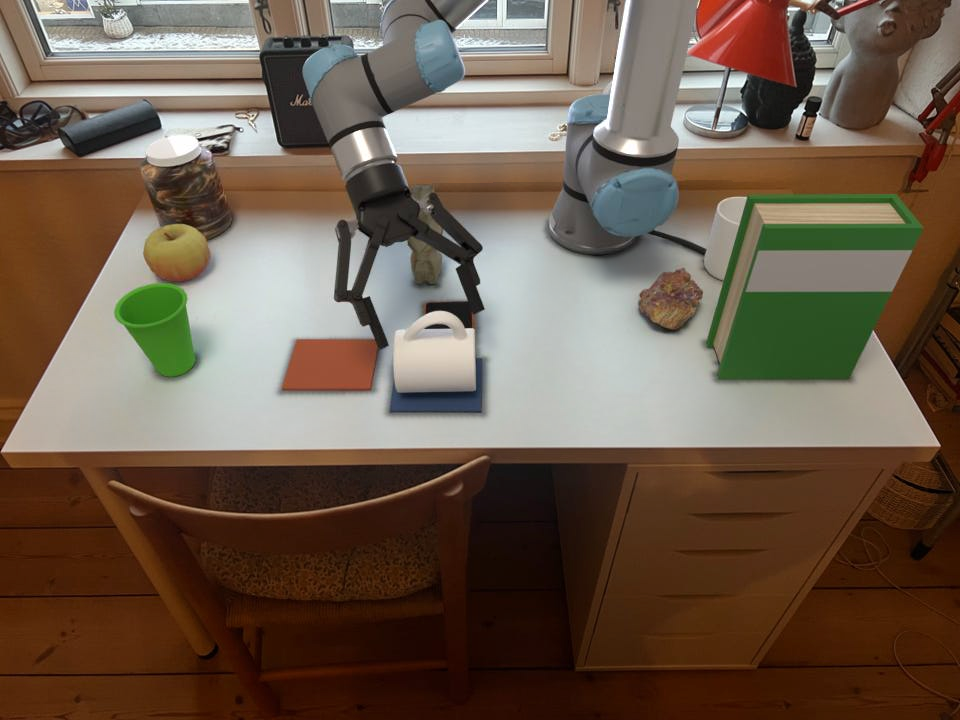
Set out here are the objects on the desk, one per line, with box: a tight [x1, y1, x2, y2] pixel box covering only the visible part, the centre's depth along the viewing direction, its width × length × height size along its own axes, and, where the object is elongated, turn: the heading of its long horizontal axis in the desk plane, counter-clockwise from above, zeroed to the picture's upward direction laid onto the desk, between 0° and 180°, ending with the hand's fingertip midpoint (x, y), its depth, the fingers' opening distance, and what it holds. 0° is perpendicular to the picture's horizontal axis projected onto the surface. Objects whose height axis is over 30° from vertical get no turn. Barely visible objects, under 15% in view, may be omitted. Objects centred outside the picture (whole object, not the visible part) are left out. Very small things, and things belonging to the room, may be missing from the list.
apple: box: [142, 224, 211, 283], centre depth 112 cm, size 10×10×8 cm
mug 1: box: [392, 311, 476, 393], centre depth 91 cm, size 8×10×12 cm
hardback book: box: [705, 193, 924, 380], centre depth 90 cm, size 18×7×24 cm, turn 89°
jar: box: [139, 135, 233, 241], centre depth 120 cm, size 12×12×15 cm
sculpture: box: [406, 184, 444, 285], centre depth 108 cm, size 6×7×15 cm
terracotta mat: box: [281, 338, 379, 391], centre depth 98 cm, size 12×10×1 cm
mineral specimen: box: [637, 267, 704, 331], centre depth 104 cm, size 12×8×7 cm
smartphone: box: [423, 300, 476, 331], centre depth 102 cm, size 8×17×1 cm, turn 2°
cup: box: [113, 282, 196, 378], centre depth 95 cm, size 9×9×11 cm
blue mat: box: [389, 357, 483, 413], centre depth 95 cm, size 12×10×1 cm
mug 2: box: [703, 196, 747, 281], centre depth 109 cm, size 9×12×11 cm
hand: (432, 329), depth 89 cm, fingers open, 13 cm apart
